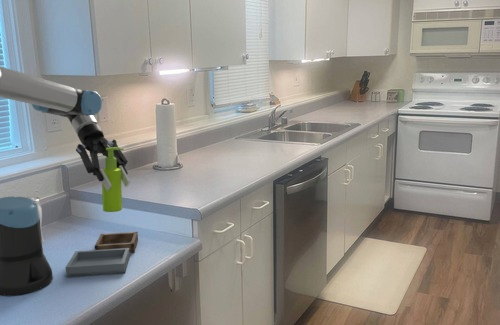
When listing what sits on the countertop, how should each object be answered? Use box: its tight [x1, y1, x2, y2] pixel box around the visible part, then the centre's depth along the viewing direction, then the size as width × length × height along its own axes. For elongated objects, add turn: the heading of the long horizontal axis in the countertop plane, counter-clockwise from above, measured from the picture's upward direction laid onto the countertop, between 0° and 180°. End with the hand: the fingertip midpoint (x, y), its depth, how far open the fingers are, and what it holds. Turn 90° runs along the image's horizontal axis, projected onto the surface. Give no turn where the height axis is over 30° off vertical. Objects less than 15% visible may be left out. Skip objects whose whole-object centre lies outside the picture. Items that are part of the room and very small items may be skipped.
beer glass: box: [26, 196, 45, 243], centre depth 164 cm, size 7×7×15 cm
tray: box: [65, 248, 131, 278], centre depth 144 cm, size 16×12×3 cm
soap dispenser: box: [101, 146, 125, 213], centre depth 155 cm, size 6×7×20 cm
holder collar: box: [94, 231, 139, 254], centre depth 159 cm, size 12×11×3 cm
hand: (118, 186), depth 153 cm, fingers closed on soap dispenser, 6 cm apart
